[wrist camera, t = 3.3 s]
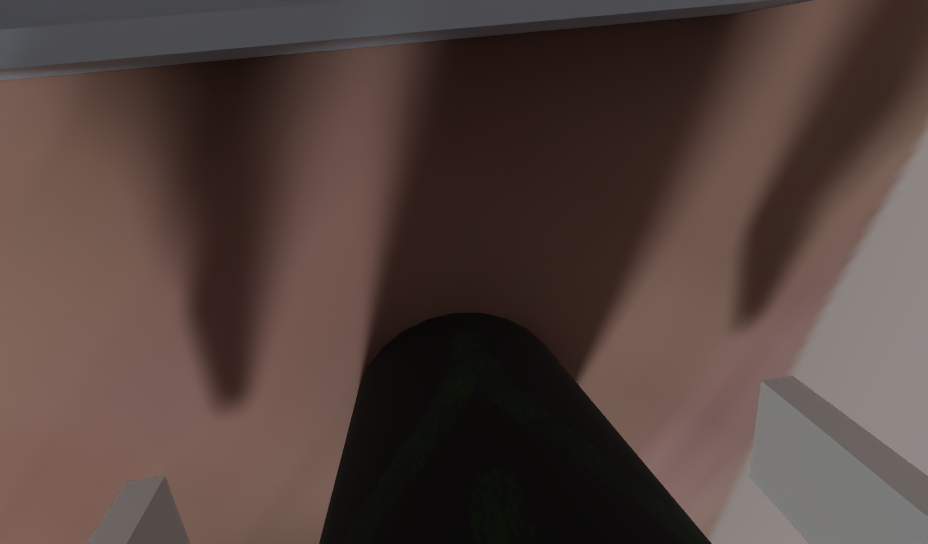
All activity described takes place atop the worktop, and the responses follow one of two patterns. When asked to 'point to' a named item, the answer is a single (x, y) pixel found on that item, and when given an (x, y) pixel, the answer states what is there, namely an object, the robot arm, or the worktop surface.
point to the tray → (287, 27)
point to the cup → (489, 450)
